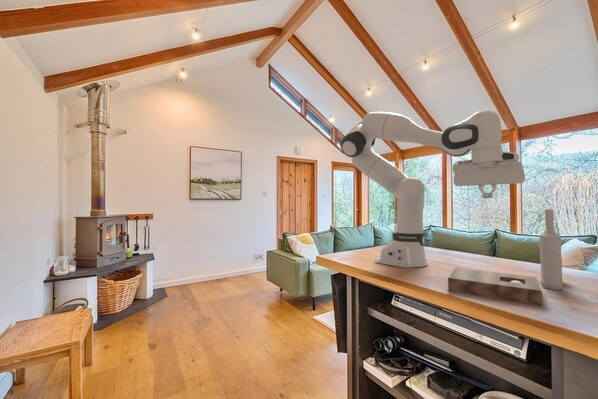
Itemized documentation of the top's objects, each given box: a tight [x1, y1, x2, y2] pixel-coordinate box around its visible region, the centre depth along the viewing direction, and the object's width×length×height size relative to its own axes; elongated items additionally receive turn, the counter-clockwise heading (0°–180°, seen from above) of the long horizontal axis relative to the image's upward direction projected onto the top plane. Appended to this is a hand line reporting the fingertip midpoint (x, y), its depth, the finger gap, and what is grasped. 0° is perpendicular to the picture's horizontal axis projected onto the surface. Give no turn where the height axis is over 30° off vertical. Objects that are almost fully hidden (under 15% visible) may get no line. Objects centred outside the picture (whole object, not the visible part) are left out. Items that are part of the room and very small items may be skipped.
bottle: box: [538, 209, 563, 291], centre depth 86 cm, size 5×5×25 cm
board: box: [447, 267, 543, 307], centre depth 84 cm, size 22×16×4 cm
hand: (487, 198), depth 93 cm, fingers closed
